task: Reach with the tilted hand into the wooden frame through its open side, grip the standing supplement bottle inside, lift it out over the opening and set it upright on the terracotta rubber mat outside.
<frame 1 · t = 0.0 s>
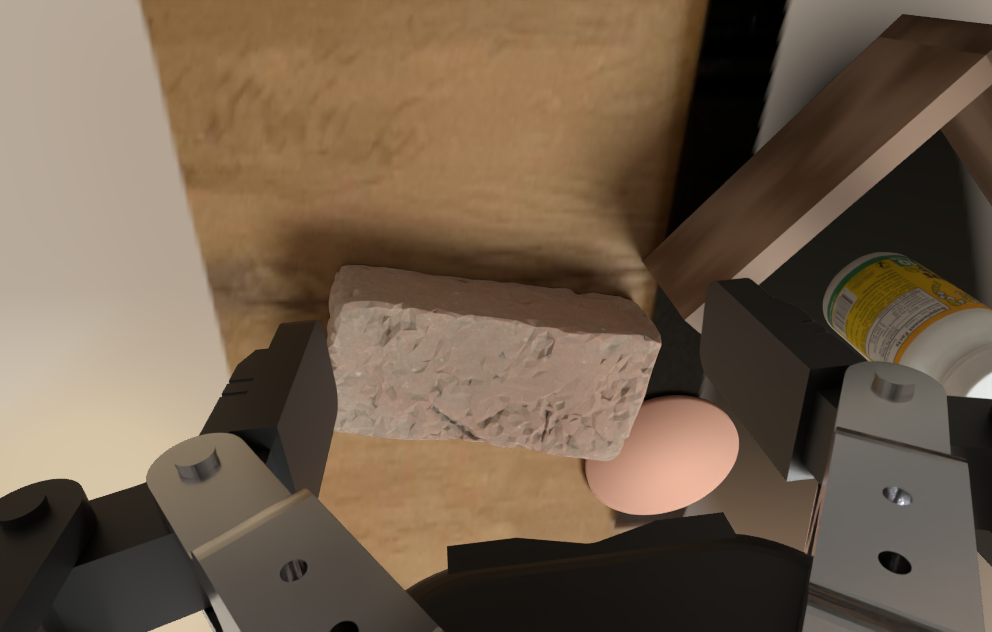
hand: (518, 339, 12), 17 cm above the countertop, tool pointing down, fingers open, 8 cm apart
supplement bottle: (863, 289, 34), on the countertop
wooden frame: (866, 291, 34), on the countertop
brick: (481, 340, 34), on the countertop
terracotta mat: (660, 455, 39), on the countertop
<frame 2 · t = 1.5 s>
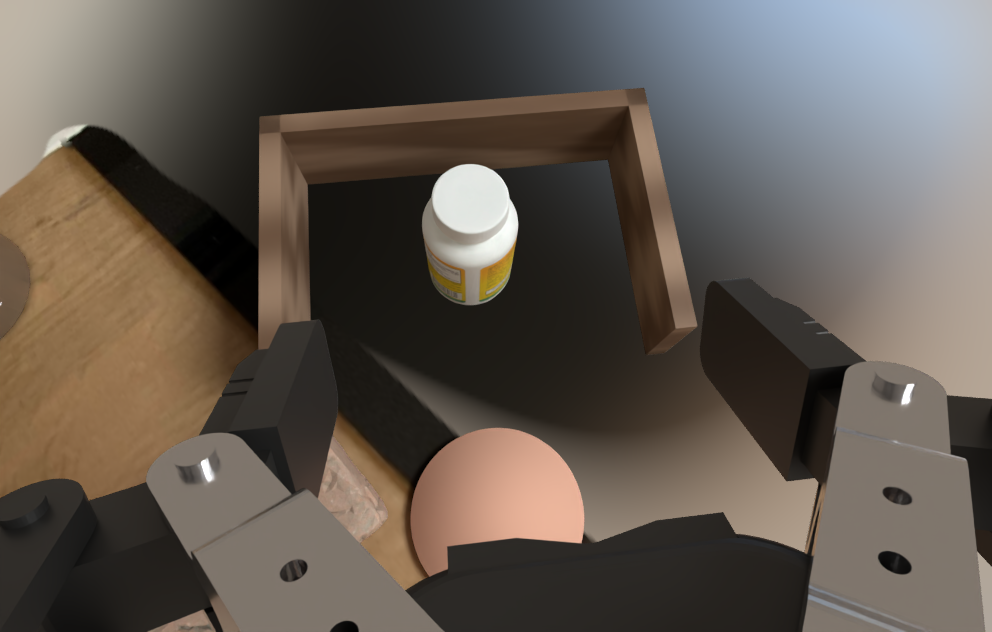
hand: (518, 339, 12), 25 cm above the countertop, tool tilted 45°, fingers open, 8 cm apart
supplement bottle: (470, 270, 40), on the countertop
wooden frame: (470, 268, 39), on the countertop
brick: (239, 557, 34), on the countertop
terracotta mat: (497, 515, 35), on the countertop
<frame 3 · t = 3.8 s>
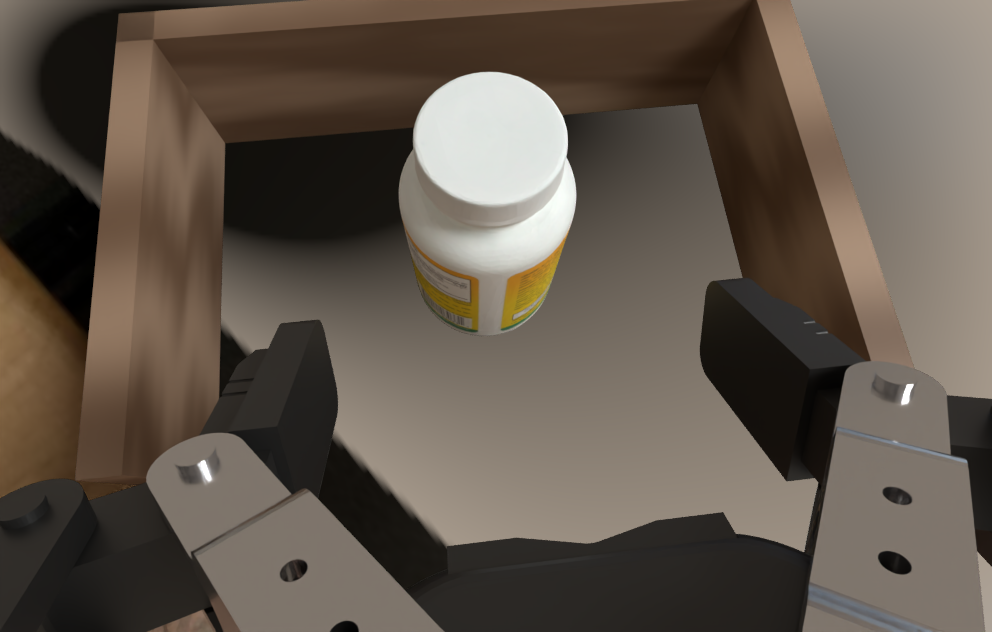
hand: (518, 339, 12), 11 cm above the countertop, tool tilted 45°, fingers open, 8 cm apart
supplement bottle: (485, 277, 24), on the countertop
wooden frame: (485, 275, 24), on the countertop
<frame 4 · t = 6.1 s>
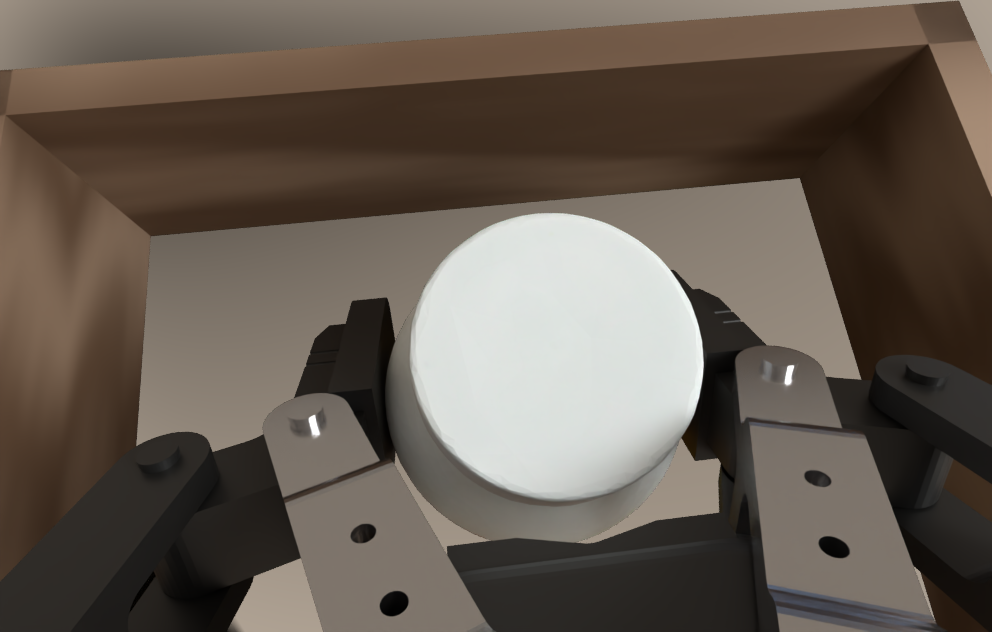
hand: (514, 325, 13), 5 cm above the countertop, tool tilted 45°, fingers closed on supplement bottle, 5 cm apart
supplement bottle: (512, 435, 17), on the countertop, touching gripper
wooden frame: (513, 434, 17), on the countertop
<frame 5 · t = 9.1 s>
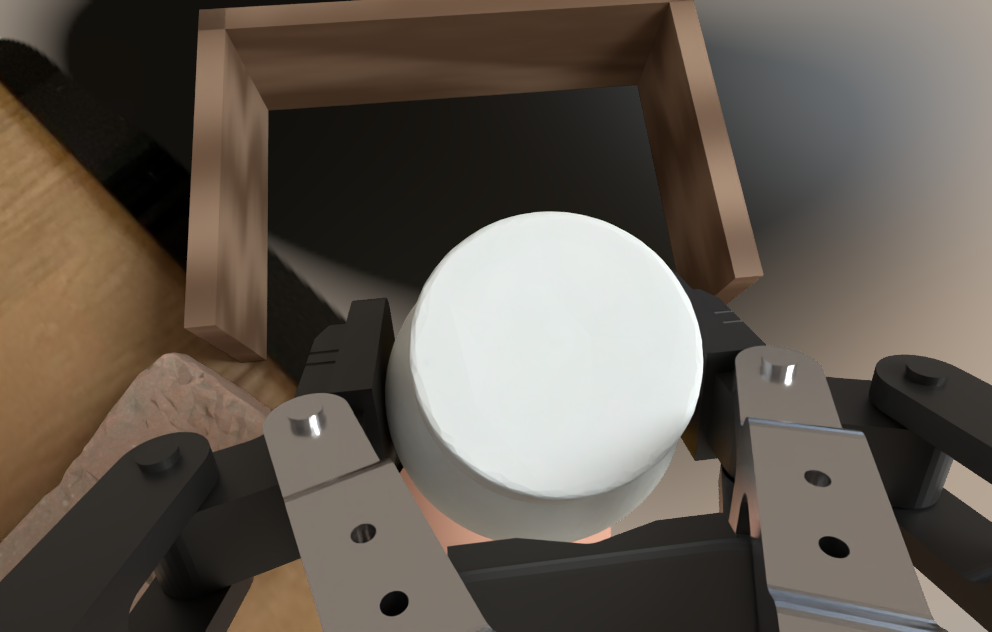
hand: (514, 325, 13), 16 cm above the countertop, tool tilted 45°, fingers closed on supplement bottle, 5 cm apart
supplement bottle: (512, 434, 17), point 11 cm above the countertop, touching gripper
wooden frame: (468, 213, 32), on the countertop
brick: (159, 567, 27), on the countertop
terracotta mat: (499, 520, 27), on the countertop
when the fingers open (7 cm above the countertop, at t = 12.3 s): supplement bottle drops 1 cm, resting on terracotta mat.
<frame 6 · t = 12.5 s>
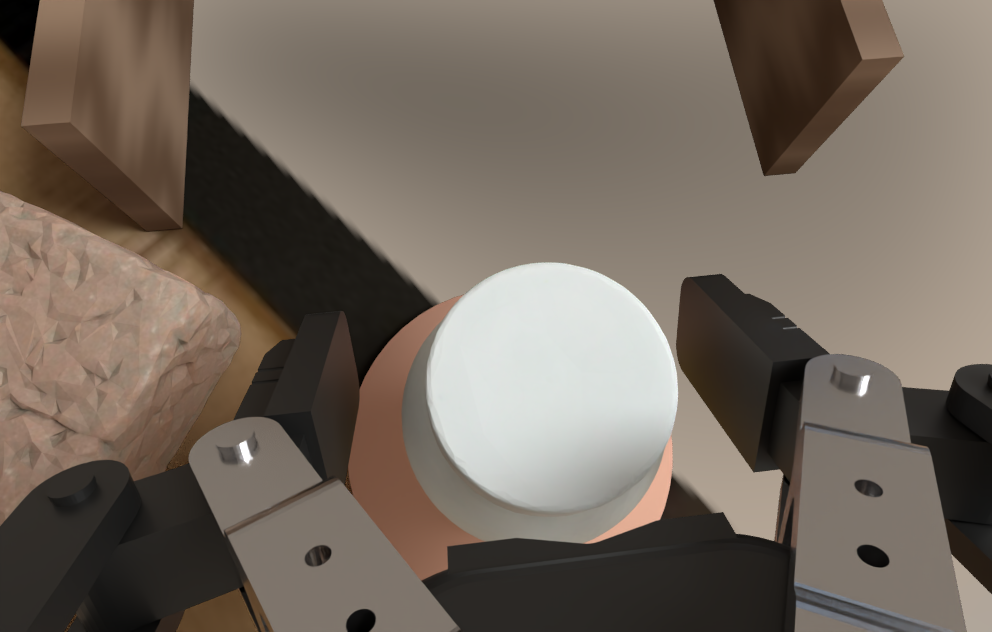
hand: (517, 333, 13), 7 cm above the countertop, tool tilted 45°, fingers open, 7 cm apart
supplement bottle: (515, 446, 19), resting on terracotta mat
wooden frame: (462, 44, 24), on the countertop
brick: (10, 510, 18), on the countertop
terracotta mat: (510, 441, 19), on the countertop
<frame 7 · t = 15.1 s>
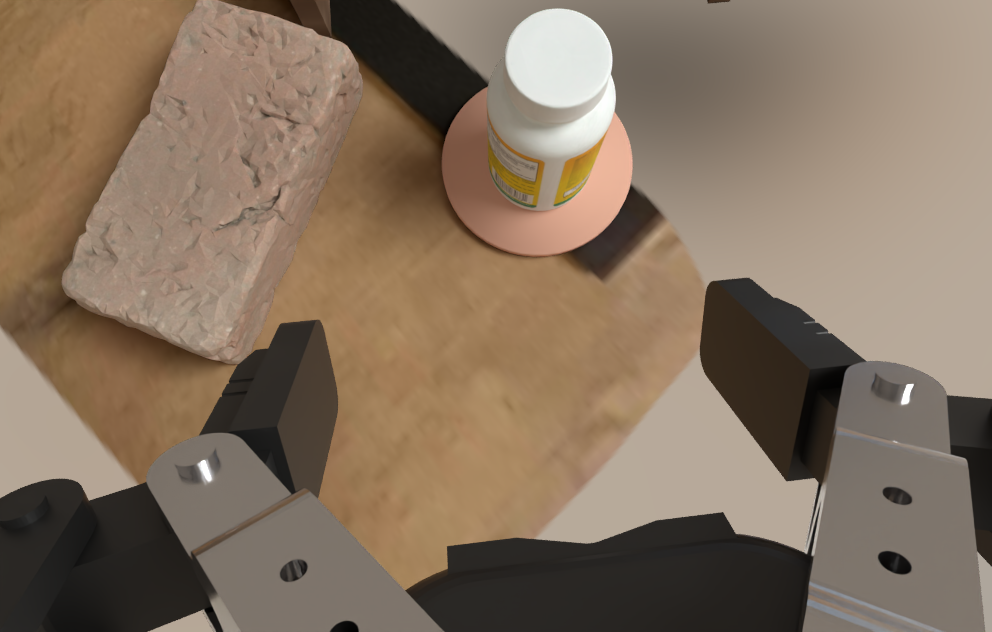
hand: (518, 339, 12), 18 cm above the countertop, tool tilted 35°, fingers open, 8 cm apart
supplement bottle: (539, 166, 32), resting on terracotta mat
brick: (246, 201, 32), on the countertop
terracotta mat: (536, 165, 32), on the countertop
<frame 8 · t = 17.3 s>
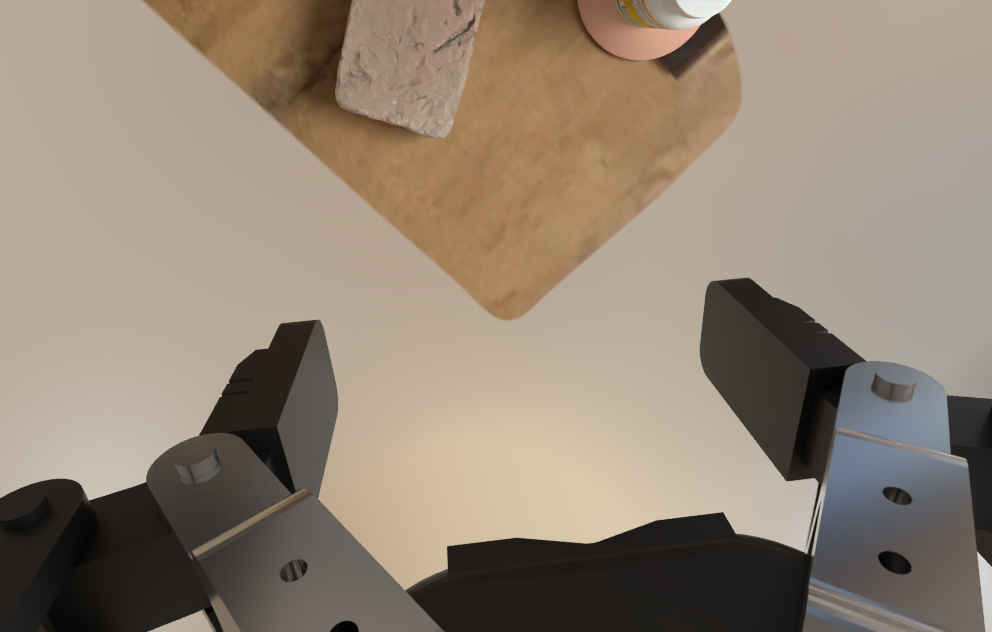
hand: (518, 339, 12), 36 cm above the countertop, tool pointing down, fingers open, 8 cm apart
brick: (421, 2, 42), on the countertop
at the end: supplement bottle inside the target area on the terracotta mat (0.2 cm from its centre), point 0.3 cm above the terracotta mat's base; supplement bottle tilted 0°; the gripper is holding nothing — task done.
